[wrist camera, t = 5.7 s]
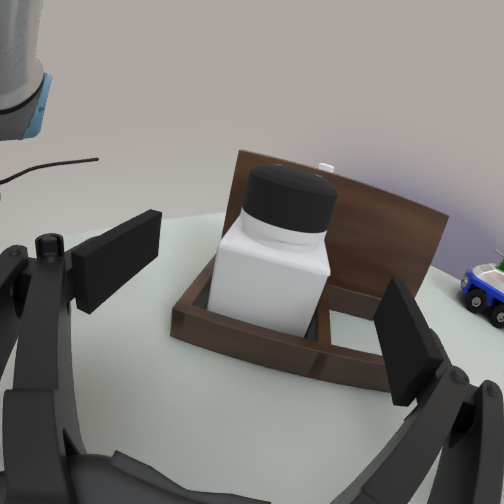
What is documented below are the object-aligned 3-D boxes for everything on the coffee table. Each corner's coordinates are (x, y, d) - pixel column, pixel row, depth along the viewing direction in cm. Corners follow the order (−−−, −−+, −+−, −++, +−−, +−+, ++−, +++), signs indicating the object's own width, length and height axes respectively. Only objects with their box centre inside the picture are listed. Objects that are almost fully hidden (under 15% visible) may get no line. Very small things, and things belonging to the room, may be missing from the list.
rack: (428, 396, 17) (512, 260, 12) (170, 336, 19) (191, 156, 14) (400, 317, 28) (445, 213, 23) (217, 267, 30) (241, 149, 25)
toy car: (457, 285, 41) (478, 236, 37) (507, 315, 34) (530, 267, 30) (453, 301, 34) (479, 243, 30) (511, 337, 27) (541, 280, 23)
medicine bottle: (298, 357, 20) (358, 194, 15) (202, 331, 20) (233, 161, 15) (300, 305, 26) (340, 177, 21) (225, 285, 27) (252, 154, 22)
